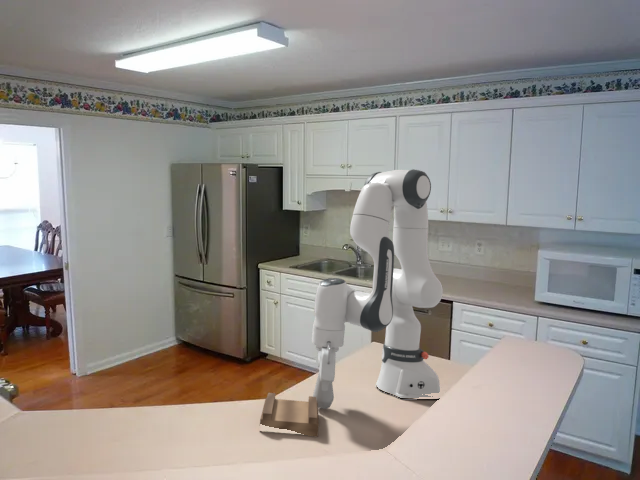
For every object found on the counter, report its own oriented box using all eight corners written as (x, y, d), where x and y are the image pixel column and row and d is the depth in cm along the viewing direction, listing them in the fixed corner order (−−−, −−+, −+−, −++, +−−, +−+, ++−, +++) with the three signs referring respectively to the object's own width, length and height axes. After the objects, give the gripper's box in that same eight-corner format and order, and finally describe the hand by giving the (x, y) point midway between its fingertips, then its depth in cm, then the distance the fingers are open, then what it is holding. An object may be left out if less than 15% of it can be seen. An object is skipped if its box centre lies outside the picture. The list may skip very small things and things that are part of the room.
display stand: (316, 413, 125) (318, 397, 125) (317, 436, 111) (319, 418, 111) (264, 409, 125) (266, 392, 125) (259, 431, 111) (260, 412, 111)
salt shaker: (331, 411, 125) (334, 363, 125) (310, 408, 126) (313, 360, 126) (334, 403, 131) (338, 357, 130) (314, 400, 132) (318, 355, 132)
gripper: (342, 348, 118) (338, 402, 118) (337, 330, 138) (333, 375, 139) (317, 346, 118) (313, 400, 118) (315, 328, 138) (312, 374, 138)
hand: (324, 387), depth 128 cm, fingers closed on salt shaker, 3 cm apart
